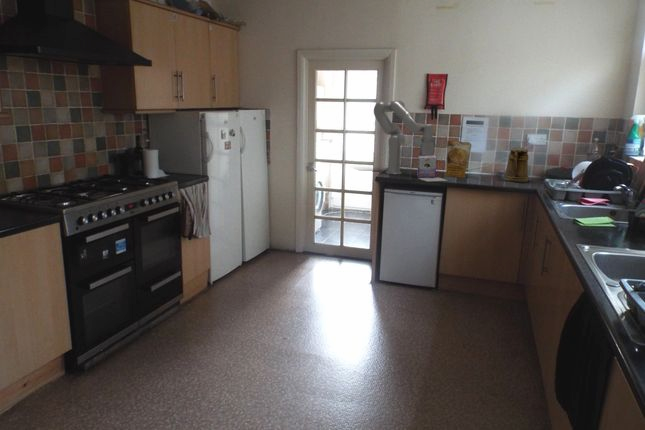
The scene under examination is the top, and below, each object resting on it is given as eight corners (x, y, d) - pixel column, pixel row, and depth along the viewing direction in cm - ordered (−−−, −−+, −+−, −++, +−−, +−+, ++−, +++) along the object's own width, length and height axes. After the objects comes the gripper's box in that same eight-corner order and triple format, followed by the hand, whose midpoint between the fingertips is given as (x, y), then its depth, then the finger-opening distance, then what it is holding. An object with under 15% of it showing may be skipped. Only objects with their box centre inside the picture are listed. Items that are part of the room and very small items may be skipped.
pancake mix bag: (445, 174, 393) (448, 140, 386) (468, 177, 382) (472, 142, 375) (442, 175, 387) (445, 140, 381) (465, 178, 376) (469, 142, 370)
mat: (418, 178, 371) (418, 178, 371) (438, 177, 376) (439, 177, 376) (426, 181, 358) (426, 181, 358) (448, 181, 363) (448, 180, 363)
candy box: (434, 175, 379) (436, 155, 372) (435, 177, 374) (437, 157, 367) (416, 175, 380) (418, 155, 373) (417, 177, 375) (418, 157, 368)
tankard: (529, 180, 377) (533, 148, 371) (526, 184, 357) (530, 150, 351) (504, 177, 385) (508, 146, 379) (500, 181, 365) (504, 149, 359)
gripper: (420, 140, 368) (419, 164, 372) (438, 140, 372) (436, 164, 376) (416, 140, 375) (414, 163, 379) (433, 139, 379) (431, 163, 383)
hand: (425, 163), depth 377 cm, fingers closed
